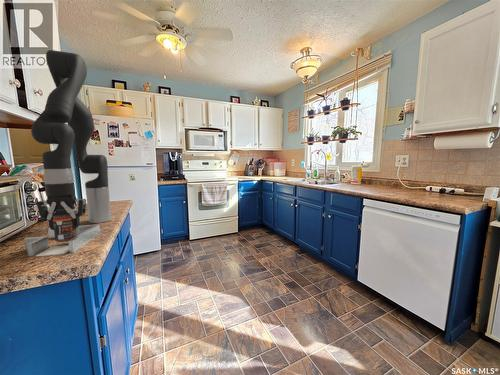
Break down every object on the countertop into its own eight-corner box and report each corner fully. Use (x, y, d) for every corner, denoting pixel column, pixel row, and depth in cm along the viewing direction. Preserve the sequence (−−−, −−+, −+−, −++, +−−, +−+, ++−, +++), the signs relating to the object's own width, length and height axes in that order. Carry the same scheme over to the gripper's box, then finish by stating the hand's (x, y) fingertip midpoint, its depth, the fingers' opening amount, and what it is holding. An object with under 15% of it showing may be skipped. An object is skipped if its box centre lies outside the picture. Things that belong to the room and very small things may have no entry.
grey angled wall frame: (51, 237, 82) (50, 227, 81) (100, 233, 86) (99, 224, 85) (9, 257, 64) (8, 245, 64) (73, 252, 68) (72, 240, 68)
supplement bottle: (64, 243, 71) (60, 211, 69) (50, 242, 72) (46, 210, 70) (81, 237, 76) (78, 207, 75) (68, 236, 78) (65, 206, 76)
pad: (52, 247, 73) (52, 246, 72) (77, 245, 74) (77, 244, 74) (35, 256, 65) (35, 255, 65) (63, 254, 67) (63, 253, 67)
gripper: (89, 180, 77) (93, 224, 79) (43, 181, 74) (48, 226, 76) (77, 182, 70) (82, 230, 72) (25, 183, 66) (32, 233, 68)
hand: (65, 228), depth 74 cm, fingers closed on supplement bottle, 6 cm apart
